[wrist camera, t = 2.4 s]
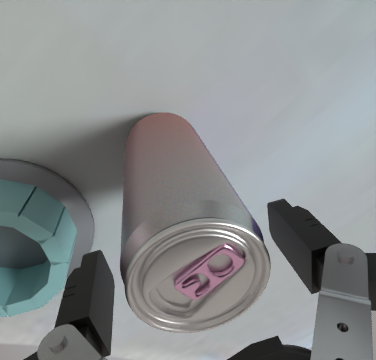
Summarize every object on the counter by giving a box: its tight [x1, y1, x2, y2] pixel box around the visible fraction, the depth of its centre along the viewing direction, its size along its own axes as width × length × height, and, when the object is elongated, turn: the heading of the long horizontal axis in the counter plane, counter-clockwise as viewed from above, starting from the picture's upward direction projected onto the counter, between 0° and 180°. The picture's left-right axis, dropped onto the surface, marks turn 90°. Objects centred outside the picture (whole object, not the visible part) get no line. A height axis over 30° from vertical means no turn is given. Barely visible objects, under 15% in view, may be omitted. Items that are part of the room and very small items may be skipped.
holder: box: [0, 159, 94, 317], centre depth 23 cm, size 13×13×5 cm
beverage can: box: [120, 113, 271, 333], centre depth 17 cm, size 6×6×15 cm
